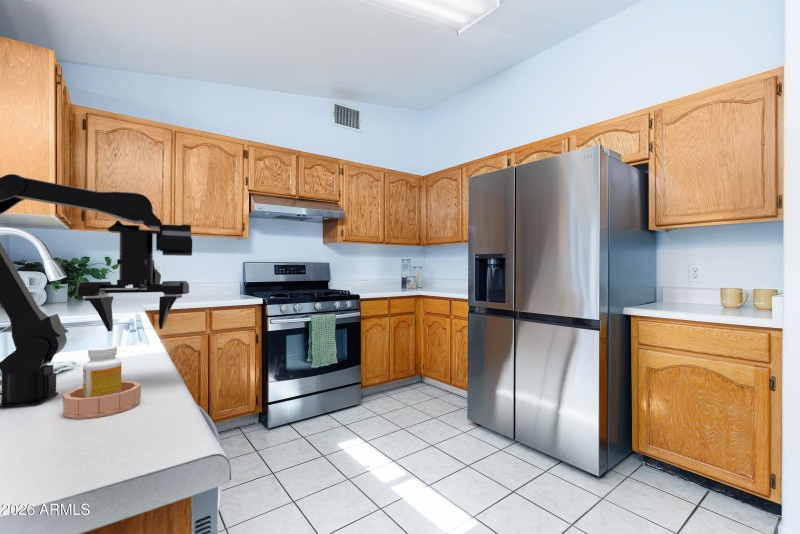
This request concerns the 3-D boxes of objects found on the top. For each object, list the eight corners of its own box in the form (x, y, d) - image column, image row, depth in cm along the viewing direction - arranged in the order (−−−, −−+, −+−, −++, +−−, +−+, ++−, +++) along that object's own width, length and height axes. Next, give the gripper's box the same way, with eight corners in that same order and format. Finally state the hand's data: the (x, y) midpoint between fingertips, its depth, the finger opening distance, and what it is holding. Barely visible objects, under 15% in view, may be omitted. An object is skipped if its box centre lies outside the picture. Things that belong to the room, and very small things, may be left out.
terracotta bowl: (49, 422, 61) (49, 402, 61) (82, 401, 72) (83, 384, 72) (126, 414, 64) (126, 395, 64) (148, 395, 75) (148, 379, 75)
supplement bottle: (129, 398, 70) (129, 345, 70) (101, 409, 65) (101, 351, 65) (104, 397, 71) (104, 344, 71) (74, 407, 66) (74, 350, 66)
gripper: (194, 257, 91) (194, 323, 90) (101, 256, 85) (101, 327, 85) (182, 254, 80) (182, 330, 80) (75, 253, 75) (74, 334, 74)
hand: (136, 330), depth 80 cm, fingers open, 9 cm apart
